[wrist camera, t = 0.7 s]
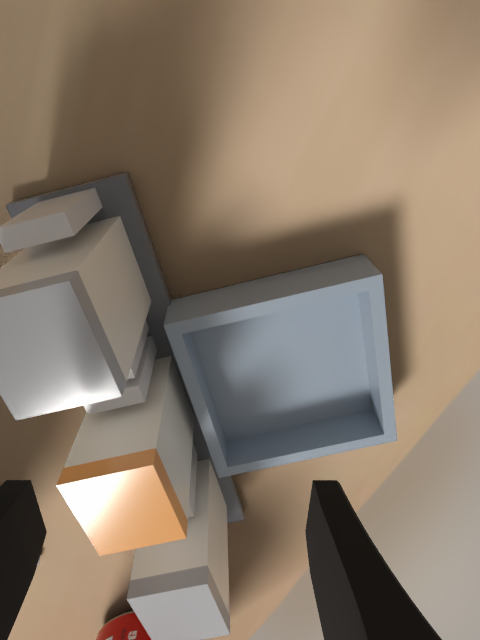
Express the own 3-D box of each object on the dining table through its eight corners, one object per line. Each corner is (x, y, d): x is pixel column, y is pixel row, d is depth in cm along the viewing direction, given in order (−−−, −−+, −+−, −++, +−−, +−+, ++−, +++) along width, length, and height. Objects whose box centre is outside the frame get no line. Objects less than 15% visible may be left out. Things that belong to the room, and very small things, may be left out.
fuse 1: (78, 318, 20) (16, 420, 14) (39, 236, 18) (-52, 310, 12) (151, 301, 20) (122, 396, 14) (119, 216, 18) (69, 280, 12)
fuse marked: (130, 431, 23) (99, 555, 17) (102, 371, 21) (56, 485, 15) (194, 418, 23) (186, 538, 17) (171, 355, 21) (153, 465, 15)
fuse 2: (170, 517, 26) (156, 648, 20) (149, 471, 25) (126, 599, 18) (226, 506, 26) (230, 634, 20) (209, 458, 24) (207, 584, 18)
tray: (218, 443, 25) (218, 477, 22) (169, 300, 20) (163, 325, 18) (380, 408, 24) (397, 440, 22) (363, 253, 20) (382, 274, 18)
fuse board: (167, 527, 28) (158, 602, 24) (11, 201, 18) (-49, 233, 14) (243, 511, 27) (248, 585, 23) (127, 171, 18) (100, 195, 14)
